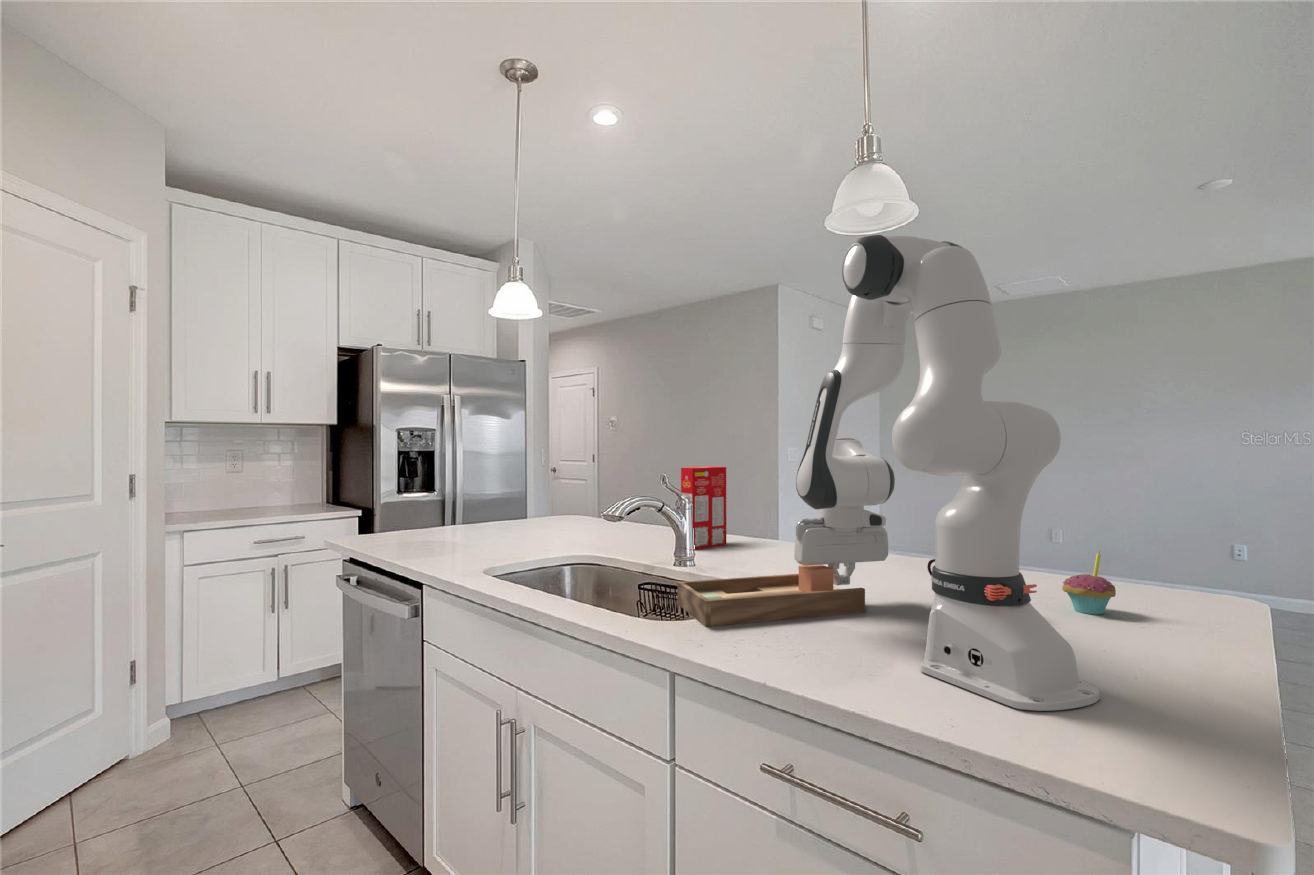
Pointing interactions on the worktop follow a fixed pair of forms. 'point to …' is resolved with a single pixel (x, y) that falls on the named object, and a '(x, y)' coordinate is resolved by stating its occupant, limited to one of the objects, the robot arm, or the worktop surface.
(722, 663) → the worktop surface
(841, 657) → the worktop surface
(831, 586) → the block
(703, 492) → the food packaging
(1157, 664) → the worktop surface
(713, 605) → the trap lane
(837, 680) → the worktop surface
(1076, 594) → the cupcake
